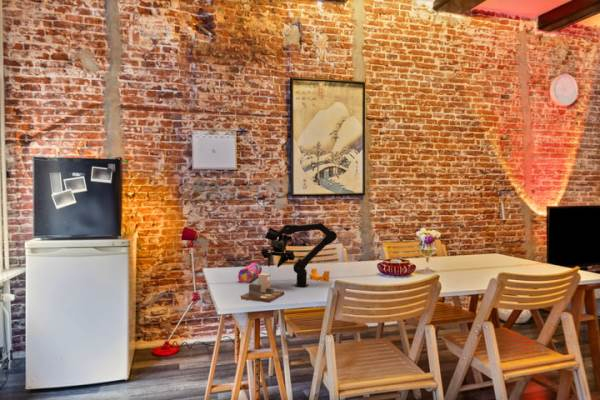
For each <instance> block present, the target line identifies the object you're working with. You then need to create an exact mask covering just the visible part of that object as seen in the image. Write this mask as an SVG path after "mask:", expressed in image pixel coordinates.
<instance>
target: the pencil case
mask: <svg viewBox="0 0 600 400" xmlns="http://www.w3.org/2000/svg"><path fill="white" fill-rule="evenodd" d="M262 270H263V268H262V266H261V265H260V264H259V263H257V262H252V263H250V264H248V265H246V266H245V267H243V268H241V269H240V270H239V271H238V275H237V278H238V281H239V282H240V283H242V284H243V283H244V284H248V283H250V282H251V281H253V280H255V279H256V278H258V274H261V273H262Z"/></svg>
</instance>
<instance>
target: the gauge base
mask: <svg viewBox="0 0 600 400" xmlns="http://www.w3.org/2000/svg"><path fill="white" fill-rule="evenodd" d="M284 295H285V291H283V290H274V293H272V294H268V293H264V292H261V285H260V284H258V283H249V284H248V292H247V293H245V294H242V295H240V299H241V300H247V301H255V302H260V303H261V302H262V303H271V302H273V301H275V300H276V299H278V298H280V297H282V296H284Z"/></svg>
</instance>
